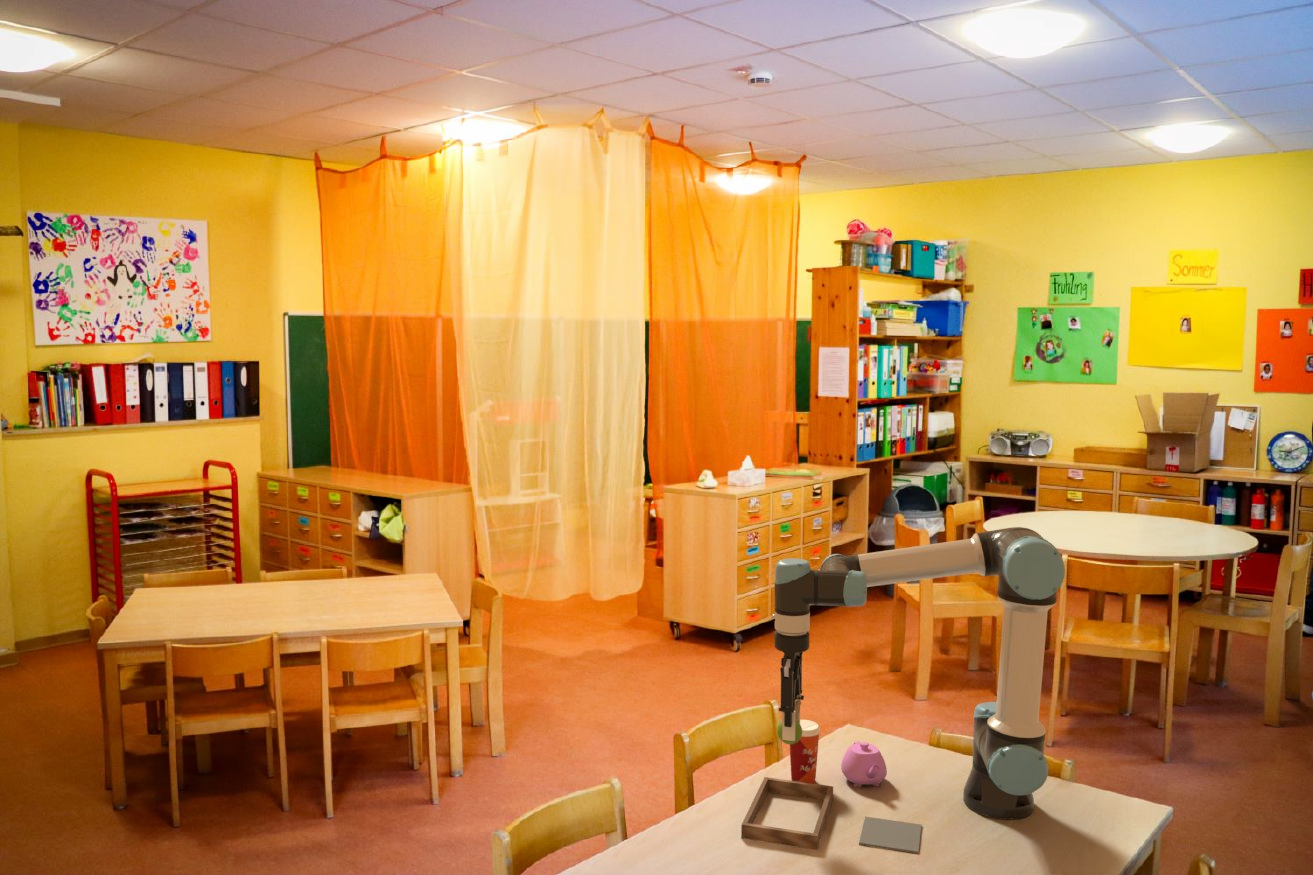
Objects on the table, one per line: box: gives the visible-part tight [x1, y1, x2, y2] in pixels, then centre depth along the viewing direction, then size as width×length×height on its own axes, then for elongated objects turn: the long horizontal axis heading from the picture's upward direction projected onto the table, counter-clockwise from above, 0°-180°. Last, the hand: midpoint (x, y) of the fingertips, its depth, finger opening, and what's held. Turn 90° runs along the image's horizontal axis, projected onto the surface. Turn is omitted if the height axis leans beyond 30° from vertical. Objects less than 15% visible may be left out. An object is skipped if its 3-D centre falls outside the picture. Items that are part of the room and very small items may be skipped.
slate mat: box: [858, 816, 922, 854], centre depth 212 cm, size 12×12×1 cm
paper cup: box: [789, 719, 821, 784], centre depth 237 cm, size 8×8×14 cm
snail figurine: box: [776, 694, 803, 745], centre depth 217 cm, size 5×6×12 cm
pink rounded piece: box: [840, 740, 888, 788], centre depth 237 cm, size 10×15×9 cm
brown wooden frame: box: [740, 776, 834, 851], centre depth 220 cm, size 16×24×3 cm, turn 162°
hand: (791, 734), depth 218 cm, fingers closed on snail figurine, 5 cm apart
